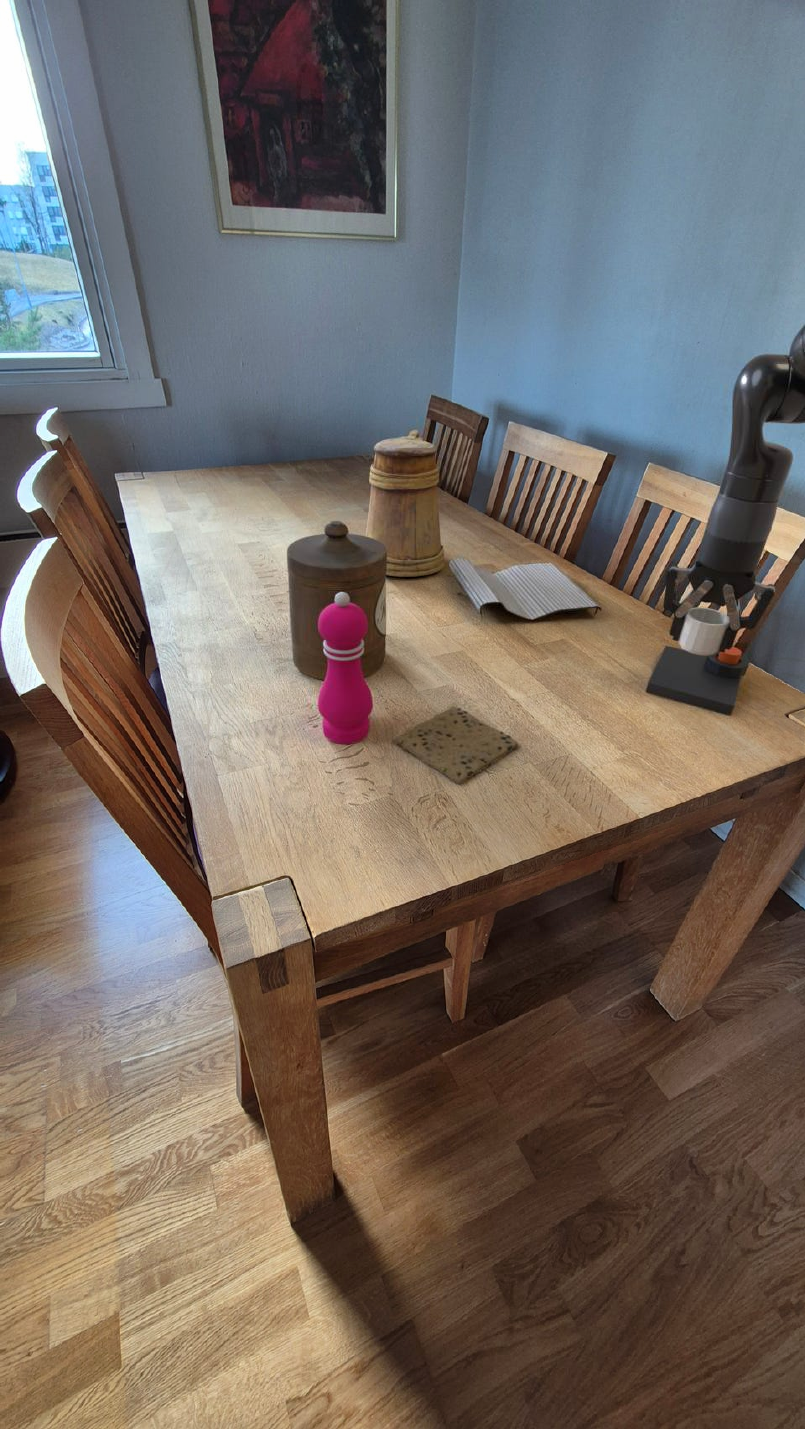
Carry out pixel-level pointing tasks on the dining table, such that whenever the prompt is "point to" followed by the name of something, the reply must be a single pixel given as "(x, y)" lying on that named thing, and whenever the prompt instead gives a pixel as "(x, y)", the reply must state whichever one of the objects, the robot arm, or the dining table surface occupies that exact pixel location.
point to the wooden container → (323, 574)
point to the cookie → (456, 744)
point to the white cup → (703, 631)
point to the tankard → (406, 505)
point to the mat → (521, 589)
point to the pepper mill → (344, 672)
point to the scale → (697, 679)
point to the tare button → (730, 656)
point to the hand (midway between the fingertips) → (699, 643)
